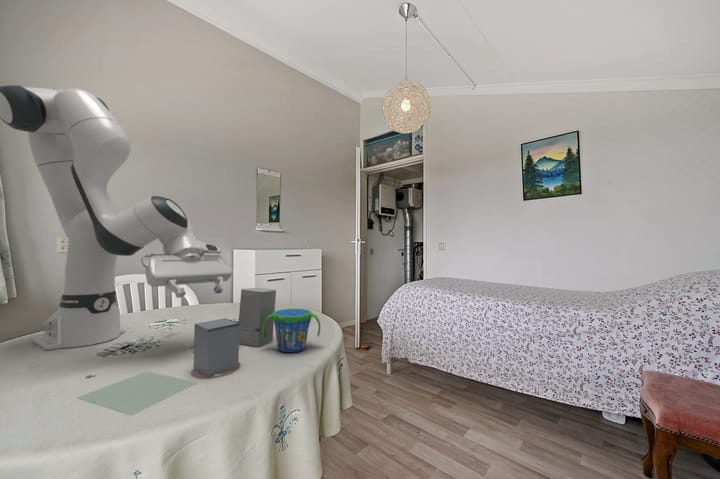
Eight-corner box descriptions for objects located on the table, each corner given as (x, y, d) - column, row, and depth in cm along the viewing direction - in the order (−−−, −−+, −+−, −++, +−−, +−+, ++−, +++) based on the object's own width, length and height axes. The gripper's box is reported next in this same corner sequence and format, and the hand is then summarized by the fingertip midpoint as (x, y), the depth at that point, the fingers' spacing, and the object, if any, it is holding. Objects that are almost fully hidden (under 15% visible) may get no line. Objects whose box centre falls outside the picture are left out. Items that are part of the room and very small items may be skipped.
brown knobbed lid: (179, 377, 61) (179, 359, 61) (217, 360, 70) (218, 345, 70) (214, 386, 57) (215, 366, 58) (250, 367, 67) (250, 350, 67)
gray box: (193, 369, 63) (194, 323, 64) (224, 360, 69) (224, 318, 69) (206, 378, 59) (208, 329, 59) (238, 367, 64) (239, 323, 65)
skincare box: (236, 344, 83) (237, 289, 83) (254, 337, 90) (254, 286, 90) (259, 348, 80) (260, 291, 80) (275, 340, 86) (276, 287, 87)
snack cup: (322, 342, 85) (322, 308, 85) (317, 355, 74) (318, 316, 74) (268, 342, 84) (269, 308, 85) (257, 356, 74) (258, 316, 74)
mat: (76, 402, 51) (76, 397, 51) (146, 374, 62) (147, 371, 62) (131, 420, 46) (131, 415, 46) (197, 386, 57) (197, 382, 57)
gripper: (143, 245, 69) (158, 289, 63) (225, 247, 85) (243, 282, 79) (135, 263, 71) (149, 307, 65) (216, 261, 88) (233, 296, 82)
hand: (201, 293), depth 72 cm, fingers open, 8 cm apart
